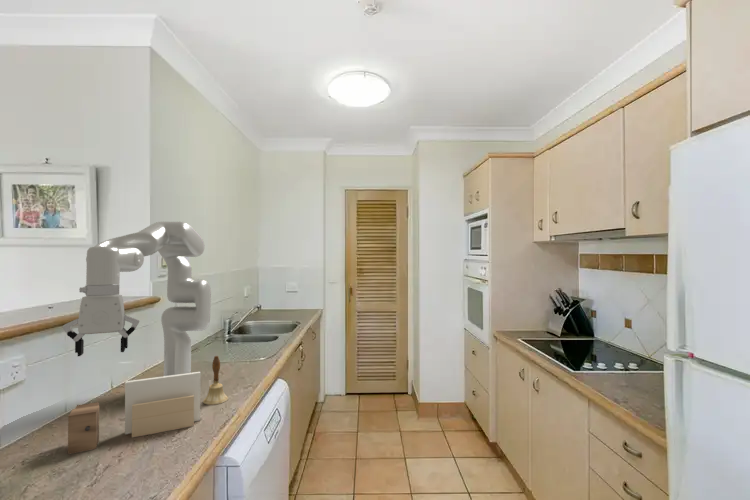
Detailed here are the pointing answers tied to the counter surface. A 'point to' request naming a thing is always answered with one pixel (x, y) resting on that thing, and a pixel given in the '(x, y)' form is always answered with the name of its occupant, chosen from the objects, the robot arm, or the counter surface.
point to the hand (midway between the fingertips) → (102, 353)
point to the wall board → (162, 403)
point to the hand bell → (215, 387)
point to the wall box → (83, 428)
